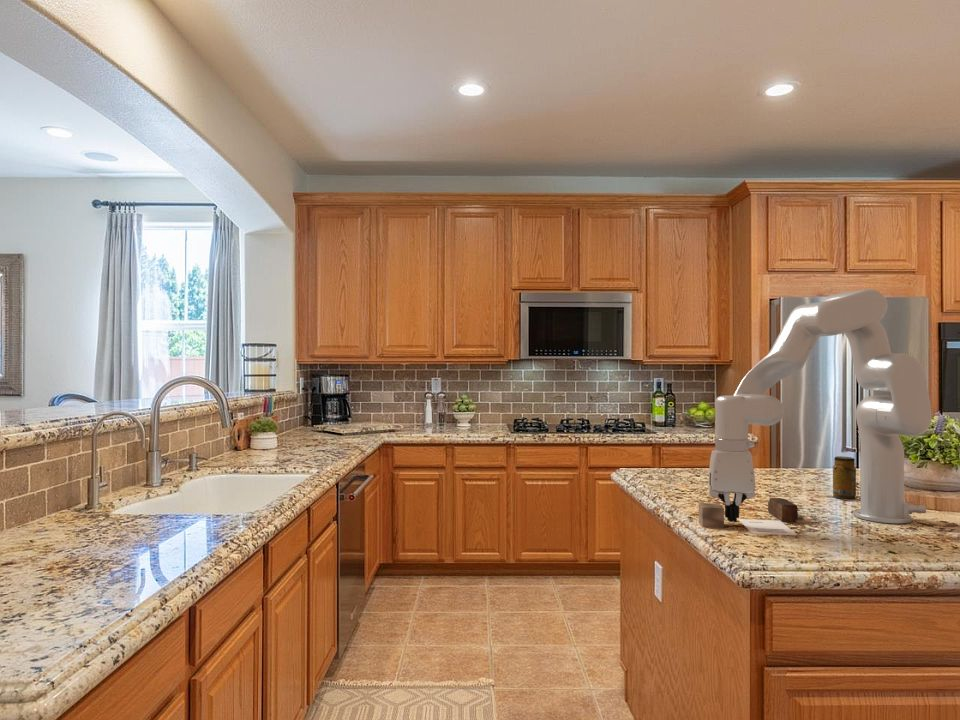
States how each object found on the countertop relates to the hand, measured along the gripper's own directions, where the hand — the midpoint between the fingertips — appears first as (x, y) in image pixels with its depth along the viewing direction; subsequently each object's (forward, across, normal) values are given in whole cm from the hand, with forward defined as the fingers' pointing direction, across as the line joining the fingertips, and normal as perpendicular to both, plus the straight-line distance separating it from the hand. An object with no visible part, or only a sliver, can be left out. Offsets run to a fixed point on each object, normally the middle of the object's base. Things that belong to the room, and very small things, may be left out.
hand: (731, 520), depth 155 cm
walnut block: (+1, +5, +1) cm, 5 cm away
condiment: (+2, -41, -41) cm, 58 cm away
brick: (+2, -15, -11) cm, 18 cm away
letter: (+1, -8, 0) cm, 8 cm away
